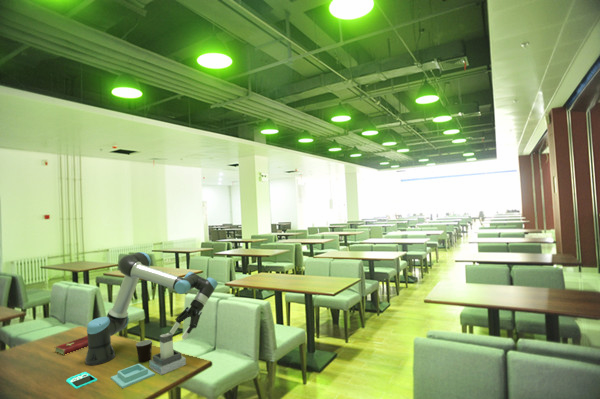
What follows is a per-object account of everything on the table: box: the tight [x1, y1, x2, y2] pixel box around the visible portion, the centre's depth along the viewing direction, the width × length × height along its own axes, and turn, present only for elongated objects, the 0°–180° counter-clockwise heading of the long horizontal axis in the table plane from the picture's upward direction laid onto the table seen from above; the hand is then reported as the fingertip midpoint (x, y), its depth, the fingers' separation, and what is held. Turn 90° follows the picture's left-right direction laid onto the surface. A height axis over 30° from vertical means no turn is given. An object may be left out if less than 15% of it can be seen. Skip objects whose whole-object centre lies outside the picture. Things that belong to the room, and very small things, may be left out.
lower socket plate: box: [110, 363, 156, 389], centre depth 178 cm, size 16×16×4 cm
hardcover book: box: [54, 335, 88, 356], centre depth 225 cm, size 12×21×4 cm, turn 148°
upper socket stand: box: [148, 348, 187, 376], centre depth 188 cm, size 14×14×6 cm
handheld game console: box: [65, 371, 98, 390], centre depth 178 cm, size 10×16×1 cm, turn 51°
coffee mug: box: [135, 339, 153, 364], centre depth 199 cm, size 12×9×10 cm
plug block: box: [159, 332, 174, 359], centre depth 188 cm, size 5×5×13 cm
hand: (177, 335), depth 192 cm, fingers open, 13 cm apart
